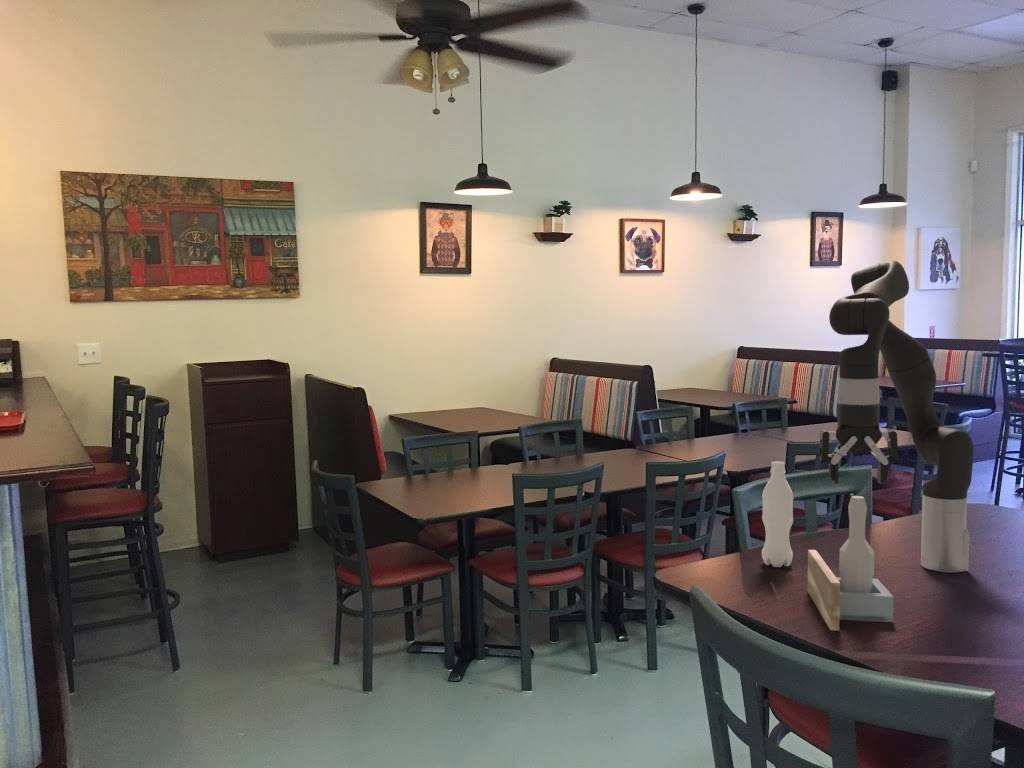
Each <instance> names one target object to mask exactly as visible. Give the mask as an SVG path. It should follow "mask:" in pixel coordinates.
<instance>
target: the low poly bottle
mask: <svg viewBox="0 0 1024 768" xmlns="http://www.w3.org/2000/svg"><path fill="white" fill-rule="evenodd" d="M847 507H848V508H847V509H848V520H849V525H848V526H849V527H848V530H849V531H848V533H849V534H848V537H847V539H846V540H845V542H844V543H843V544H842V546H841V547H839V561H838V562H839V563H838V565H839V567H838V568H839V577H840V580H841V588H842V592H855V593H871V588H872V582H873V579H874V573H875V550H874V549H873V548H872V547H871V545H870V544H869V541H867V539H866V520H867V513H868V512H867V510H868V506H867V502H866V499H865V497H864V496H862V495H861V496H860V495H852V496H850V500H849V503H848V506H847Z"/></svg>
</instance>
